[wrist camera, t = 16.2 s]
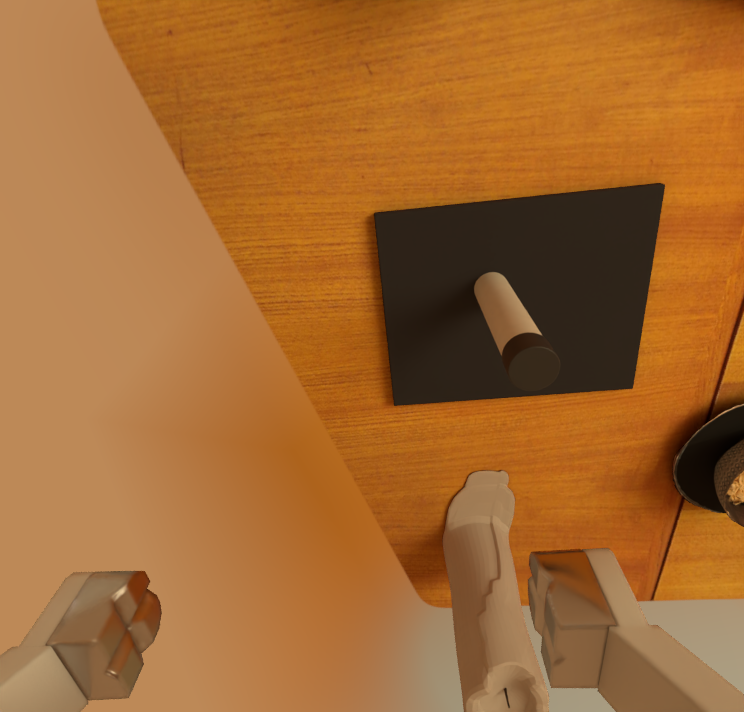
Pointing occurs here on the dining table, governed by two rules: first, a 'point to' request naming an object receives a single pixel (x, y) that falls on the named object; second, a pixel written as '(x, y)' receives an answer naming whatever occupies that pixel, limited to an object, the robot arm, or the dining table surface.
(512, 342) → the marker
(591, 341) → the mat
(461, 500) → the candle
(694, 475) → the soup bowl
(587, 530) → the dining table surface
